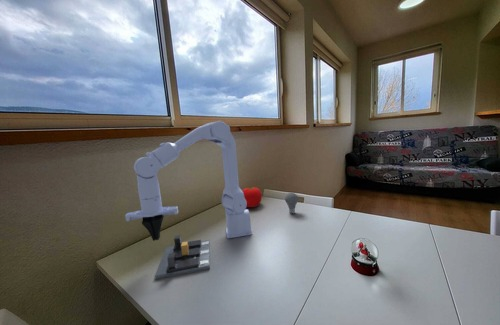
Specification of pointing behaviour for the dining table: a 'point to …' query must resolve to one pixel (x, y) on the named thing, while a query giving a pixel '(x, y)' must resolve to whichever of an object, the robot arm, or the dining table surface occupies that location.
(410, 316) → the dining table surface
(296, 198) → the light bulb
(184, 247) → the breaker
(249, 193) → the tomato
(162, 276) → the breaker panel
